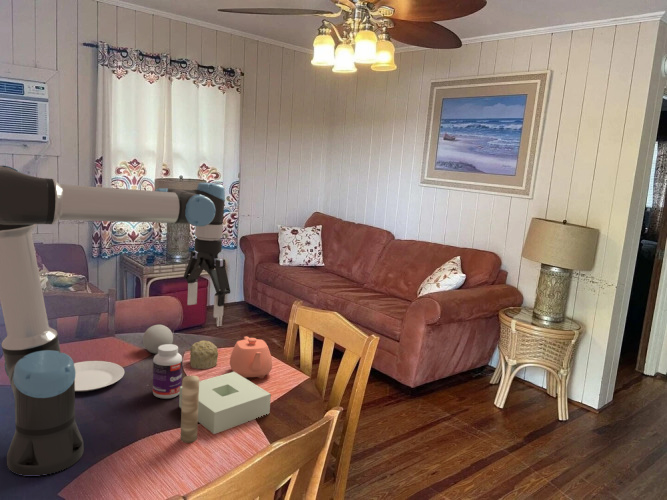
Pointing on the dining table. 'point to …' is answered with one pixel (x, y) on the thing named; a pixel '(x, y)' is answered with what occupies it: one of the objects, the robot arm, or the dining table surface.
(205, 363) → the decorative object
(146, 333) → the ball
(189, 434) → the dowel
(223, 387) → the bore block
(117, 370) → the plate
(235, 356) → the teapot
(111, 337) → the dining table surface
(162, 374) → the pill bottle
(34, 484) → the dining table surface
